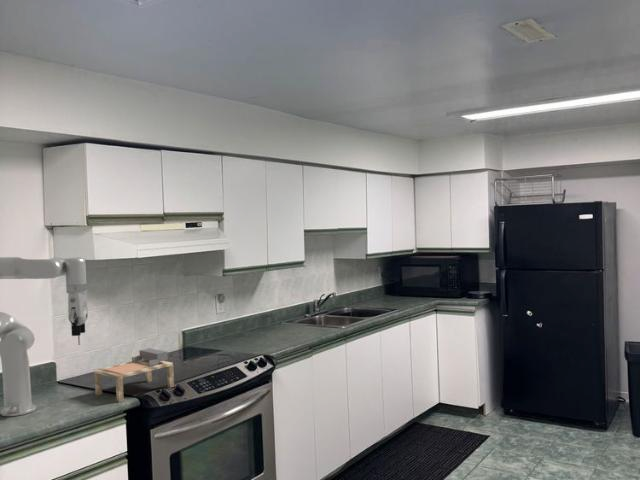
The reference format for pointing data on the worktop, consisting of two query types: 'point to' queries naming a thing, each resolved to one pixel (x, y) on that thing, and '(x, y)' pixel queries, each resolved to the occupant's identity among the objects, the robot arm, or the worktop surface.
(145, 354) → the trapdoor
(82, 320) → the lollipop
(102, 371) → the trapdoor frame
